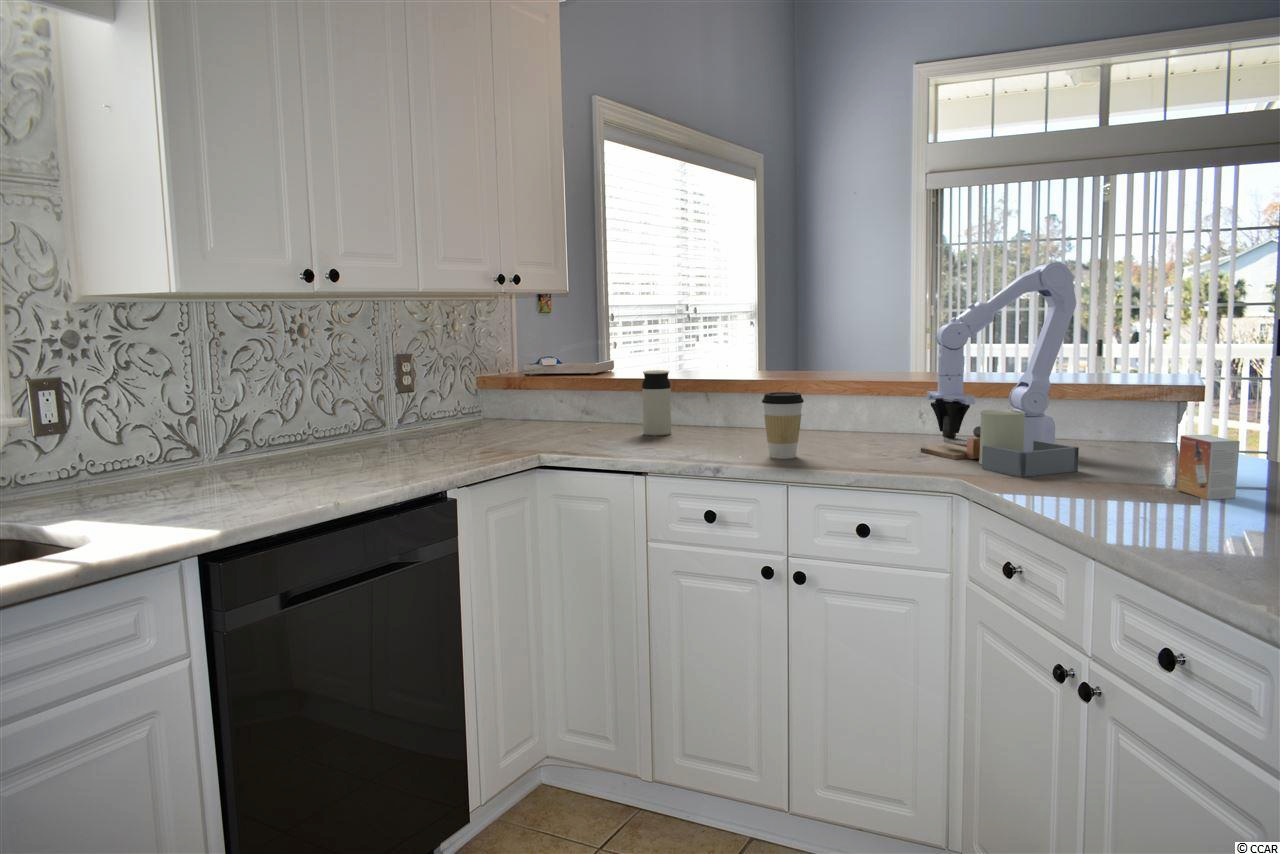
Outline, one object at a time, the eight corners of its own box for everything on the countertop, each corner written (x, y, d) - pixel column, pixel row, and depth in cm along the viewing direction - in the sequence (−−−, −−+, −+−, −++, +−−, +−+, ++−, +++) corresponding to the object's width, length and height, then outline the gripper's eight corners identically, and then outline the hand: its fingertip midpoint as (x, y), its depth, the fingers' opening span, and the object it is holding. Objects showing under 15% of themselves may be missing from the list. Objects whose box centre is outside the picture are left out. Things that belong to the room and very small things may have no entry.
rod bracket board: (954, 448, 218) (954, 444, 218) (989, 455, 207) (989, 451, 207) (920, 451, 215) (920, 447, 214) (954, 459, 203) (954, 455, 203)
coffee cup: (808, 454, 215) (808, 392, 213) (797, 461, 206) (797, 396, 204) (768, 452, 219) (768, 391, 217) (756, 458, 210) (756, 395, 208)
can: (1027, 467, 191) (1029, 412, 190) (982, 467, 193) (984, 412, 192) (1018, 460, 200) (1020, 407, 199) (975, 460, 202) (976, 407, 201)
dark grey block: (953, 449, 215) (953, 413, 214) (991, 457, 203) (992, 419, 202) (936, 450, 213) (936, 415, 212) (973, 458, 201) (974, 421, 200)
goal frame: (1036, 462, 197) (1037, 440, 197) (1077, 470, 187) (1078, 447, 186) (981, 468, 192) (982, 445, 191) (1021, 477, 181) (1022, 453, 181)
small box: (1175, 491, 166) (1179, 434, 164) (1204, 489, 166) (1207, 433, 165) (1206, 500, 158) (1210, 441, 156) (1236, 498, 158) (1240, 440, 157)
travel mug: (671, 435, 251) (670, 371, 248) (643, 436, 251) (641, 372, 248) (671, 431, 259) (669, 369, 256) (643, 432, 259) (642, 370, 256)
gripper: (916, 373, 215) (915, 429, 217) (958, 377, 202) (956, 437, 204) (940, 372, 218) (939, 427, 220) (983, 376, 204) (981, 435, 206)
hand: (949, 432), depth 212 cm, fingers closed on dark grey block, 3 cm apart
